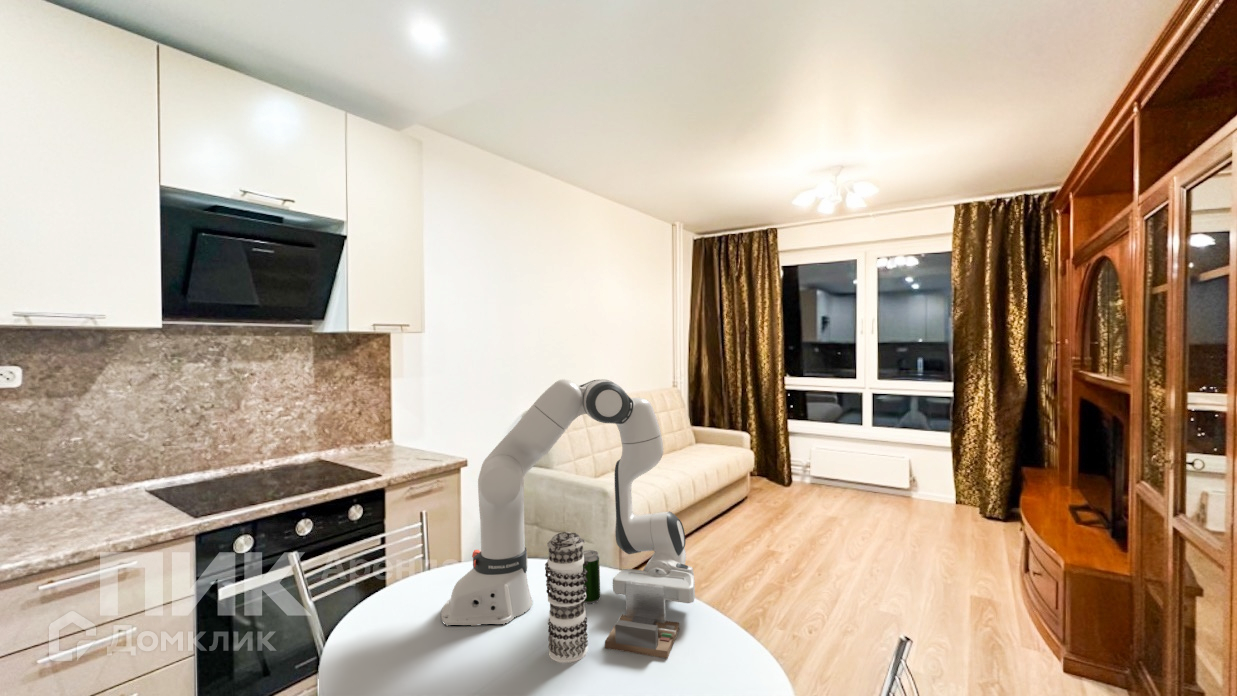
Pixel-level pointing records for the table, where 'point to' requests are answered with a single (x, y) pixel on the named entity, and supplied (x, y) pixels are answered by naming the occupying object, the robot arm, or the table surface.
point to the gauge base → (656, 653)
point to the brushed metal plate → (646, 604)
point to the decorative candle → (566, 598)
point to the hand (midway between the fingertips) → (645, 600)
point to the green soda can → (592, 576)
